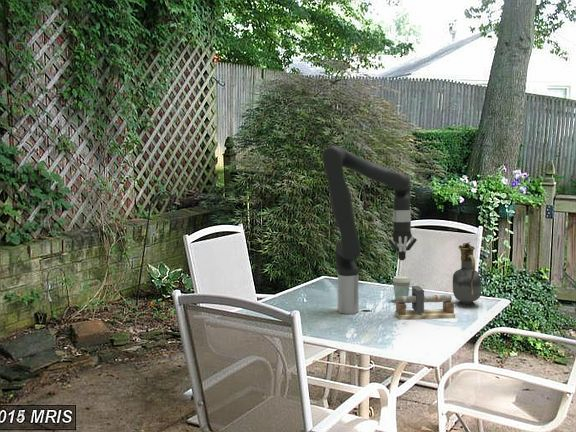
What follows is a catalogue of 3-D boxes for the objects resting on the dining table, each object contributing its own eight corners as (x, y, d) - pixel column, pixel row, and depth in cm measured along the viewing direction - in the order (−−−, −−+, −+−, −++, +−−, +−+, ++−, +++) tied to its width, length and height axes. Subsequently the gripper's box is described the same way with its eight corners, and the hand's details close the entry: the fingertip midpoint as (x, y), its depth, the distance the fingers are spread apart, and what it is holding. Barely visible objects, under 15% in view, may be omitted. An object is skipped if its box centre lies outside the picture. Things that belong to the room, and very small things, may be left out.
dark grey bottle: (473, 300, 295) (473, 238, 292) (485, 310, 276) (486, 244, 273) (450, 300, 295) (450, 239, 293) (461, 310, 277) (461, 244, 274)
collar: (417, 312, 264) (417, 290, 263) (411, 307, 273) (411, 286, 272) (423, 312, 264) (424, 290, 264) (418, 307, 273) (418, 285, 272)
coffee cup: (388, 301, 296) (388, 277, 295) (400, 298, 302) (400, 274, 301) (403, 304, 290) (403, 279, 289) (414, 301, 296) (414, 277, 294)
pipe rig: (400, 319, 264) (400, 298, 263) (395, 313, 274) (394, 293, 273) (455, 317, 265) (455, 297, 264) (448, 312, 275) (448, 292, 274)
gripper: (388, 221, 261) (388, 262, 262) (419, 220, 261) (419, 261, 263) (384, 219, 268) (384, 259, 270) (414, 219, 269) (414, 258, 270)
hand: (401, 260), depth 266 cm, fingers closed
